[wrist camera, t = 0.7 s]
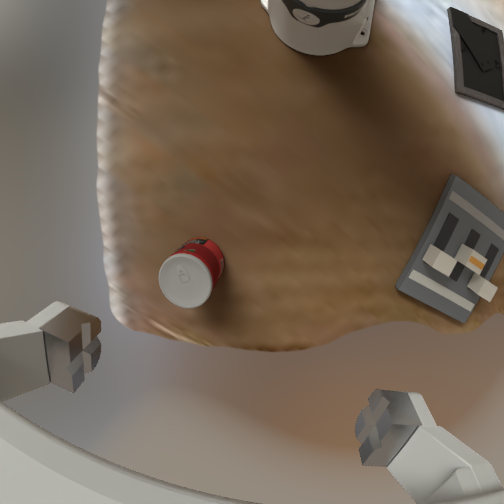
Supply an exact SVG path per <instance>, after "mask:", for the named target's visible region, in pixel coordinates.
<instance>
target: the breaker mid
mask: <svg viewBox="0 0 504 504" xmlns="http://www.w3.org/2000/svg"><path fill="white" fill-rule="evenodd" d="M454 259H456V260H457V261H459V262H460V263H462V264H463V265H465V266H466V267H468V268H469V269H471V270H472V271H474V272H475V273H477V274H478V275H480V273H481V271H482V269H483V267H484V265H485V263H486V261H487V259H486V258H484V257H483V256H482V255H480V254H479V253H477V252H476V251H475V250H473V249H471V248H469V247H468V246H466V245H464V244H461V246H460V248H459V250H458V252H457V254H456V256H455V258H454Z"/></svg>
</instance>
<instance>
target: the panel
mask: <svg viewBox="0 0 504 504" xmlns="http://www.w3.org/2000/svg"><path fill="white" fill-rule="evenodd" d="M430 244H432V245H433V246H435V247H437V248H438V249H440V250H441V251H443V252H445V253H446V254H448V255H449V256H451V257H453V258H455V256H456V254H457V252H458V250H459V248H460V246H461V244H464V245H466V246H468V247H469V248H471V249H473V250H475V251H476V252H477V253H479V254H480V255H482V256H483V257H484V258H486V259H487V261H486V263H485V265H484V267H483V269H482V271H481V273H480V276H481V277H483V278H484V279H486V280H487V281H490V279H491V277H492V275H493V273H494V271H495V269H496V267H497V266H498V264H499V262H500V259H501V257H502V255H503V253H504V213H503V212H502V211H501V210H499V209H498V208H497V207H496V206H495V205H494V204H492V203H491V202H490V201H489V200H488V199H486V198H485V197H484V196H483V195H481V194H480V193H479V192H478V191H476V190H475V189H474V188H472V187H471V186H470V185H469V184H467V183H466V182H465V181H463V180H462V179H461V178H459V177H458V176H457V175H450V177H449V179H448V182H447V184H446V186H445V188H444V191H443V193H442V195H441V197H440V200H439V202H438V204H437V206H436V208H435V210H434V212H433V215H432V217H431V219H430V221H429V223H428V225H427V227H426V229H425V231H424V233H423V235H422V237H421V239H420V241H419V243H418V245H417V246H416V248H415V250H414V252H413V254H412V256H411V258H410V260H409V261H408V263H407V265H406V267H405V269H404V270H403V272H402V274H401V276H400V277H399V279H398V281H397V283H396V284H395V286H396V288H397V289H398V290H400V291H402V292H404V293H406V294H408V295H409V296H411V297H413V298H415V299H417V300H419V301H421V302H423V303H425V304H427V305H429V306H431V307H433V308H435V309H437V310H439V311H441V312H443V313H445V314H447V315H448V316H450V317H452V318H454V319H456V320H458V321H460V322H462V323H464V324H465V322H466V320H467V319H468V317H469V316H470V314H471V312H472V311H473V309H474V307H475V306H476V304H477V302H478V301H479V299H480V297H481V296H479V295H478V294H476V293H475V292H474V291H472V290H471V289H470V288H469V287H467V286H468V284H469V282H470V280H471V278H472V276H473V275H474V273H475V272H474V271H472V270H471V269H469V268H468V267H466V266H465V265H463V264H462V263H460V262H459V261H457V263H456V265H455V266H454V268H453V270H452V272H451V274H450V276H449V277H448V276H446V275H445V274H443V273H441V272H440V271H438V270H436V269H435V268H433V267H431V266H430V265H429V264H427V263H426V262H425V261H423V260H422V259H423V257H424V255H425V253H426V252H427V250H428V248H429V246H430Z"/></svg>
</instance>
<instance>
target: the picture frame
mask: <svg viewBox="0 0 504 504" xmlns="http://www.w3.org/2000/svg"><path fill="white" fill-rule="evenodd" d="M447 11H448V18H449V25H450V33H451V42H452V52H453V64H454V81H455V92H456V93H459V94H462V95H465V96H468V97H471V98H474V99H477V100H479V101H482V102H485V103H488V104H490V105H493V106H495V107H498V108H500V109H503V110H504V39H503V33H502V30H500V29H498V28H496V27H494V26H492V25H489V24H487V23H485V22H483V21H481V20H479V19H476V18H474V17H472V16H470V15H468V14H466V13H464V12H462V11H460V10H457V9H455V8H452V7H450V8H448V9H447Z"/></svg>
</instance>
